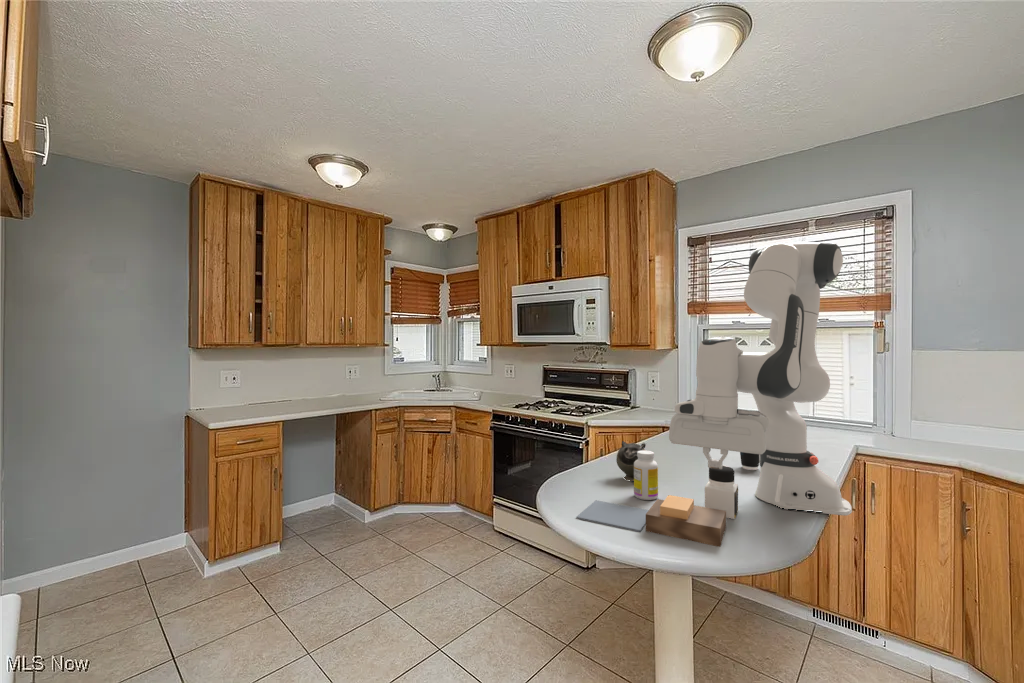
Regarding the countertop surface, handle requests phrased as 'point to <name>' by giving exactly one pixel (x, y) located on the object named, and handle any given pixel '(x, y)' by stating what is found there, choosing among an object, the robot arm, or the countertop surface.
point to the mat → (615, 515)
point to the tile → (677, 507)
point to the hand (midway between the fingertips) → (715, 468)
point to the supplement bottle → (645, 476)
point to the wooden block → (689, 524)
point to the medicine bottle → (722, 491)
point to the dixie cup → (749, 461)
